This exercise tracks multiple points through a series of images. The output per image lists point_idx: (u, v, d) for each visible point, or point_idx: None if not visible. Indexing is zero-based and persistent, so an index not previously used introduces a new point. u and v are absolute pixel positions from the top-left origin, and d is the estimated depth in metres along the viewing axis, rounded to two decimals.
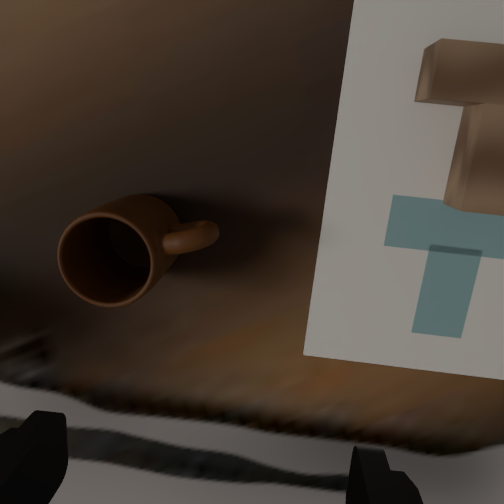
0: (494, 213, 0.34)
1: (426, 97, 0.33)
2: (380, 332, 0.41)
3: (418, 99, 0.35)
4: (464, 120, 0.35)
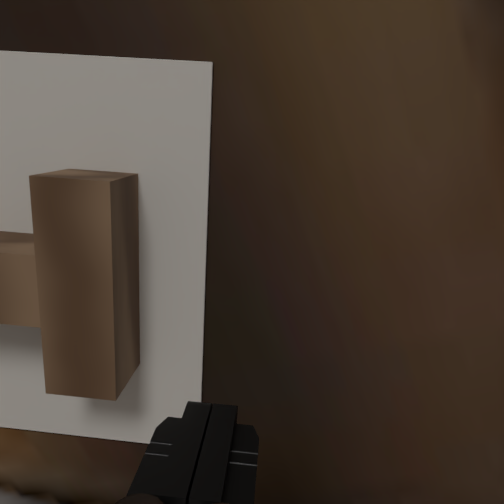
0: None
1: (40, 174, 0.22)
2: None
3: (60, 170, 0.24)
4: None
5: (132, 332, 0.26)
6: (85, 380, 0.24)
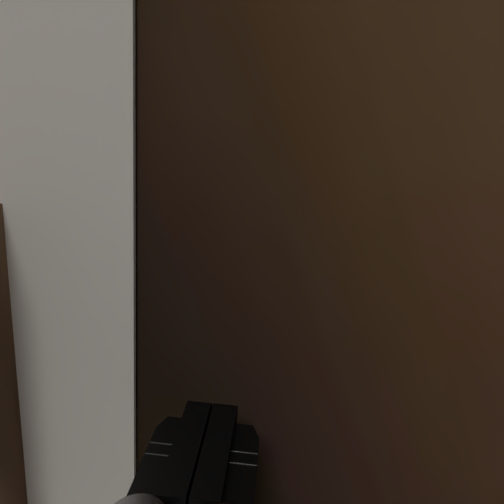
0: None
1: None
2: None
3: None
4: None
5: (1, 487, 0.14)
6: None
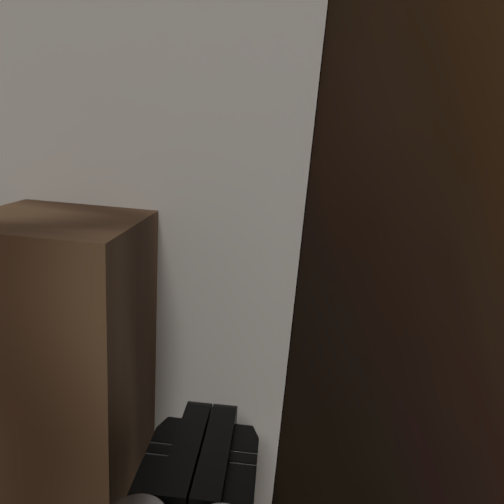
0: None
1: None
2: None
3: (5, 205, 0.12)
4: None
5: None
6: None
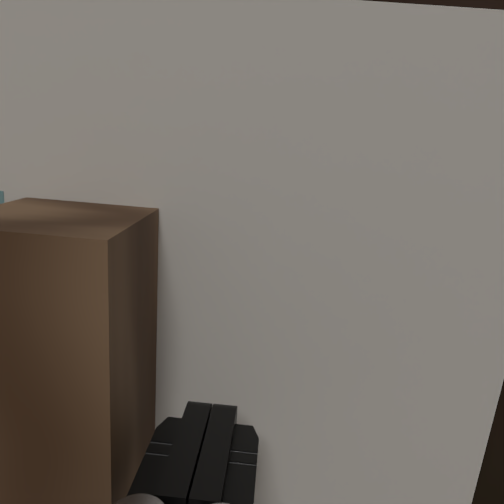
0: None
1: None
2: None
3: (6, 203, 0.12)
4: None
5: None
6: None
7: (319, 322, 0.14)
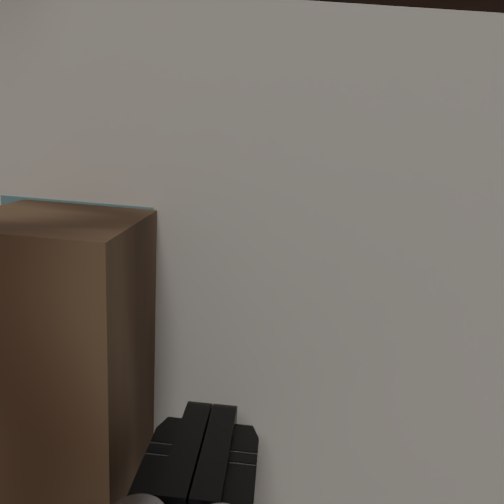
0: None
1: None
2: None
3: (3, 205, 0.12)
4: None
5: None
6: None
7: (468, 338, 0.13)
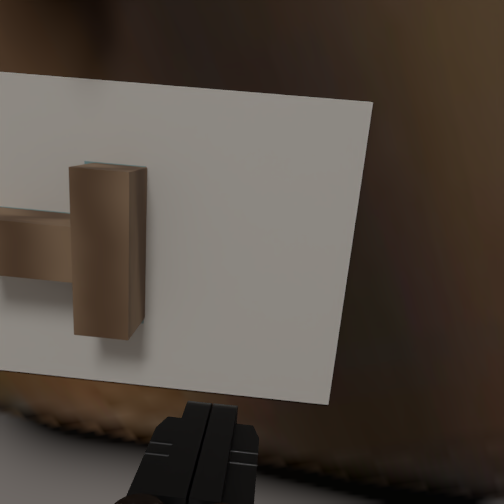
0: None
1: (75, 166, 0.29)
2: None
3: None
4: None
5: (140, 290, 0.33)
6: (104, 324, 0.31)
7: (274, 221, 0.33)
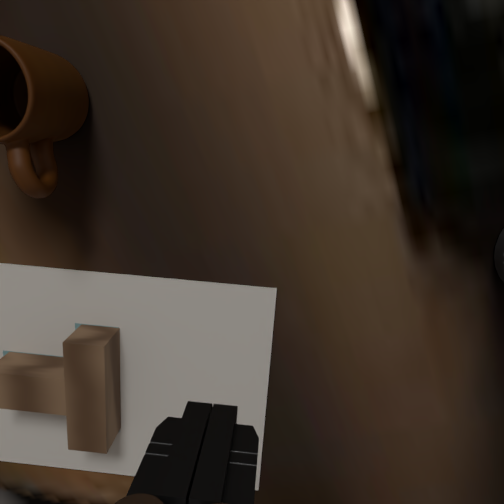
0: None
1: (67, 338, 0.42)
2: None
3: (77, 329, 0.44)
4: None
5: (116, 413, 0.46)
6: (89, 443, 0.44)
7: (212, 365, 0.45)
